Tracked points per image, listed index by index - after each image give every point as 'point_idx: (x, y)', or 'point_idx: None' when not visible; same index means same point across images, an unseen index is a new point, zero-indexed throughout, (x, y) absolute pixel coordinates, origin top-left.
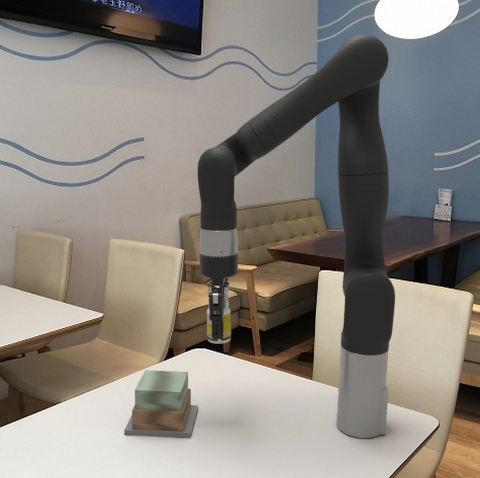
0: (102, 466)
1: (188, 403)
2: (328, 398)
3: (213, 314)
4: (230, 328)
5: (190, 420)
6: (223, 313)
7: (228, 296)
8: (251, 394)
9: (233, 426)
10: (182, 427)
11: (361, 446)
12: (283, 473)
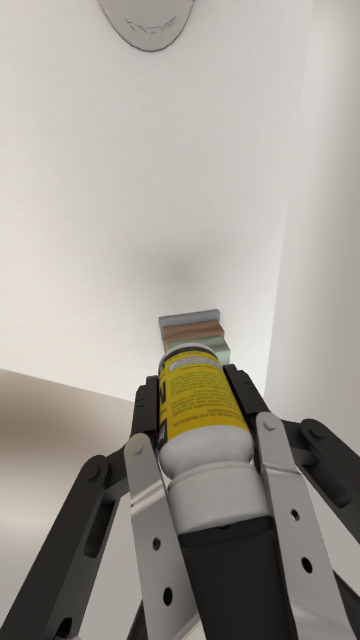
0: (260, 358)
1: (181, 331)
2: (31, 68)
3: (314, 465)
4: (196, 366)
5: (194, 319)
6: (283, 445)
7: (141, 532)
8: (92, 259)
9: (188, 269)
10: (218, 322)
11: None
12: (290, 182)
